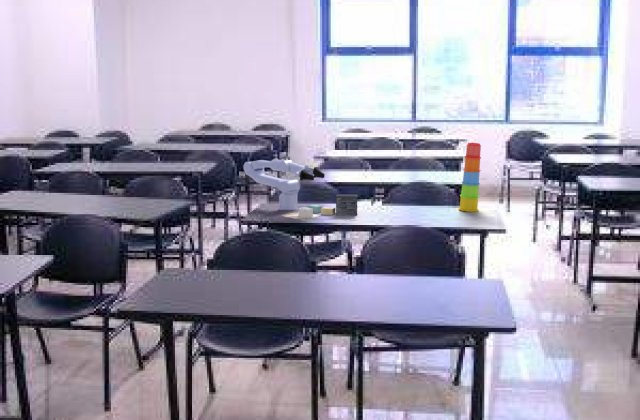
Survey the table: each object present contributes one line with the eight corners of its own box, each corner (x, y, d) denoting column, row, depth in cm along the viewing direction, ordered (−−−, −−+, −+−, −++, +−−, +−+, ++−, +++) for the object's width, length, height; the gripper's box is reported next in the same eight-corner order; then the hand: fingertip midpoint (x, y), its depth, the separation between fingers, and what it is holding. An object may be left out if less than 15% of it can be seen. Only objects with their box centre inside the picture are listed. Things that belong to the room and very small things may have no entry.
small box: (357, 214, 368) (357, 194, 366) (356, 217, 361) (357, 196, 359) (336, 214, 369) (336, 193, 367) (335, 216, 363) (335, 196, 360)
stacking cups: (471, 207, 384) (474, 141, 377) (482, 211, 375) (485, 143, 368) (454, 209, 381) (456, 142, 374) (465, 212, 371) (467, 144, 364)
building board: (279, 217, 362) (279, 215, 362) (300, 212, 372) (299, 211, 372) (302, 221, 351) (302, 220, 351) (322, 217, 361) (322, 215, 361)
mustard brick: (321, 216, 365) (321, 208, 364) (324, 214, 369) (324, 206, 368) (332, 217, 363) (332, 209, 362) (335, 215, 366) (335, 207, 366)
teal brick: (308, 213, 372) (308, 205, 372) (313, 212, 375) (313, 204, 374) (316, 214, 368) (316, 206, 368) (322, 213, 371) (322, 205, 370)
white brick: (298, 216, 360) (298, 208, 359) (304, 215, 363) (304, 207, 362) (307, 217, 356) (307, 209, 355) (312, 216, 359) (312, 208, 358)
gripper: (289, 164, 365) (309, 171, 356) (309, 160, 375) (329, 167, 367) (288, 178, 367) (308, 185, 359) (308, 174, 377) (327, 180, 369)
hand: (318, 177), depth 363 cm, fingers open, 7 cm apart
